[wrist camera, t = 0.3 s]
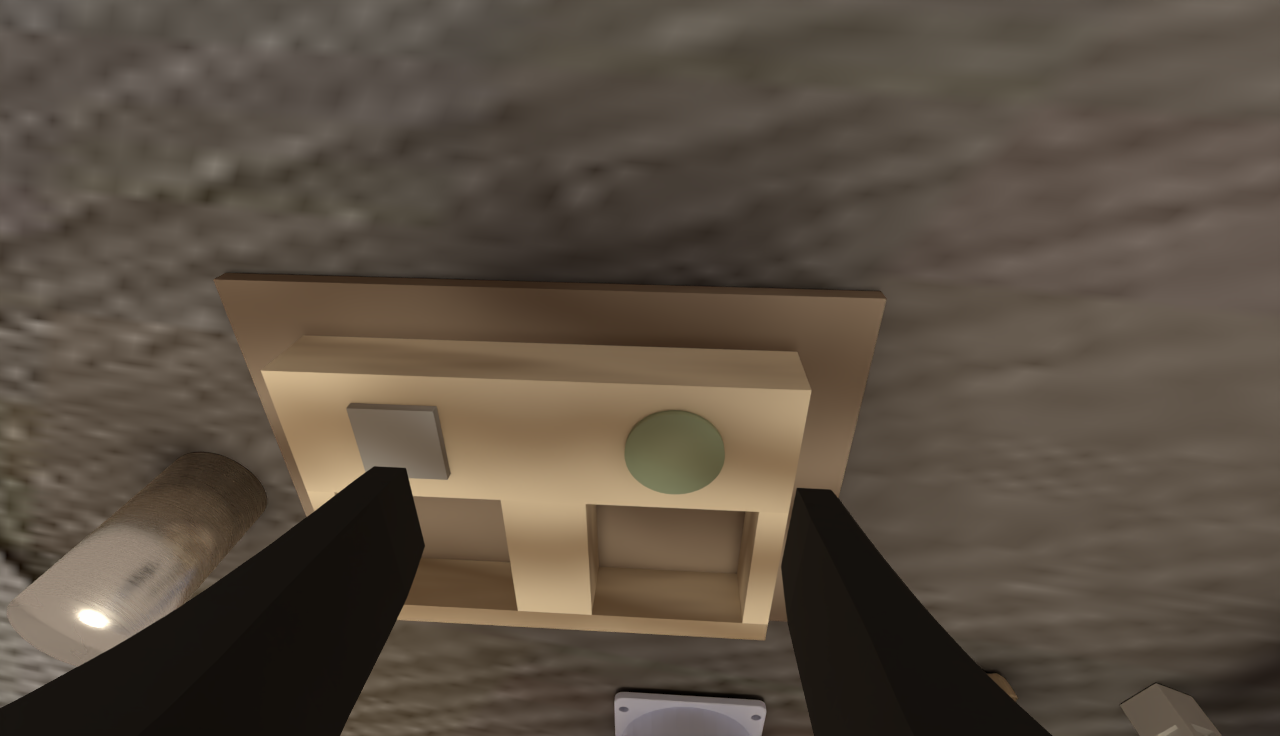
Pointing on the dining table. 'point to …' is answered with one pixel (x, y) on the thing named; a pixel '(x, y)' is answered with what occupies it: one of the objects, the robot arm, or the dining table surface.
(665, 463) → the socket block
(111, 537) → the peg
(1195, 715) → the stool
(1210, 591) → the dining table surface
